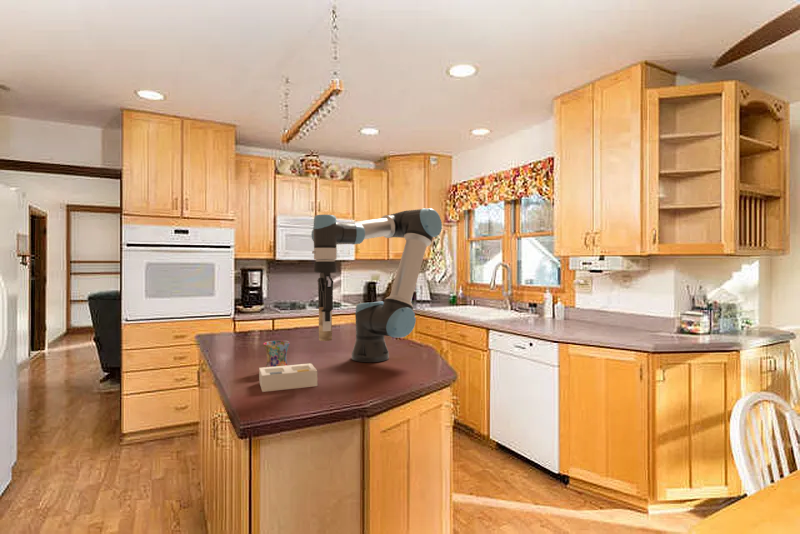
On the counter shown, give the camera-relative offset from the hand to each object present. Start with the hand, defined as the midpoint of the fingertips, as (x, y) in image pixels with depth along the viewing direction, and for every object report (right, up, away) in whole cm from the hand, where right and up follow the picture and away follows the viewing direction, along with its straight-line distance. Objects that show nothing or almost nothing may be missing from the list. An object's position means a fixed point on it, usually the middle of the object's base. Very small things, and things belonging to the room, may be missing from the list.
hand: (325, 329), depth 155 cm
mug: (-20, -17, +12) cm, 29 cm away
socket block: (-11, -17, -6) cm, 21 cm away
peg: (0, -3, 0) cm, 3 cm away
